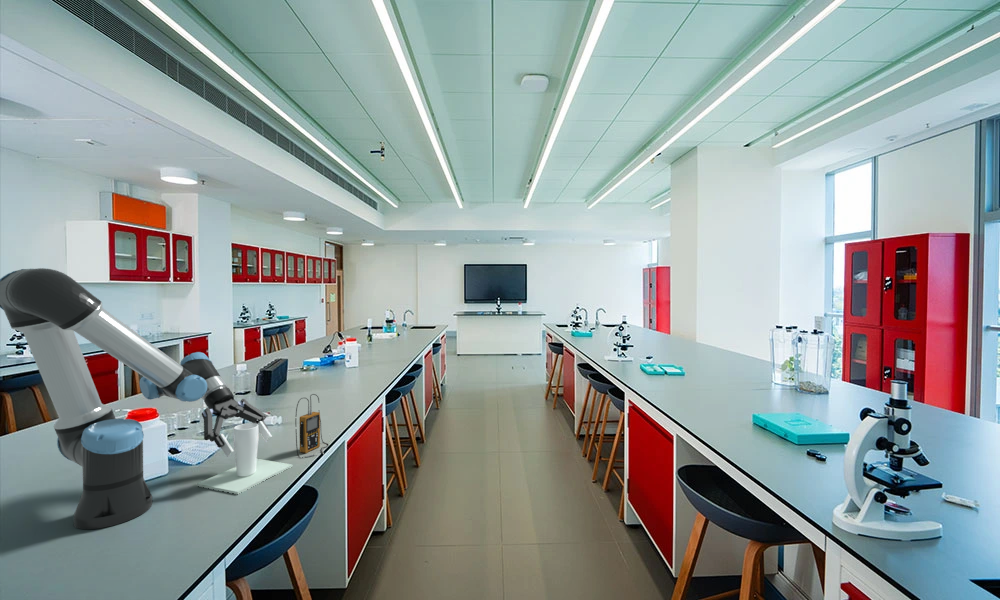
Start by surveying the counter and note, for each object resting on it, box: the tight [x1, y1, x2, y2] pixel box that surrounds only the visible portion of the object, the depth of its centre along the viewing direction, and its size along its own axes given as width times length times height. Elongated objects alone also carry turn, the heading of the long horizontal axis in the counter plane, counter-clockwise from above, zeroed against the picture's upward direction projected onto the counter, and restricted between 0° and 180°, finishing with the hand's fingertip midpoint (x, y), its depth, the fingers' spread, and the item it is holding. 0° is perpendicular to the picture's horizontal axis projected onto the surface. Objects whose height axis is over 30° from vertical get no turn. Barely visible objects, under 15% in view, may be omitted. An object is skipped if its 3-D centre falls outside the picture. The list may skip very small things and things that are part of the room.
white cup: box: [233, 422, 260, 477], centre depth 133 cm, size 7×7×15 cm
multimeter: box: [295, 393, 329, 459], centre depth 154 cm, size 15×10×20 cm
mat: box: [196, 458, 293, 495], centre depth 133 cm, size 20×16×1 cm
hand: (250, 446), depth 133 cm, fingers open, 13 cm apart
